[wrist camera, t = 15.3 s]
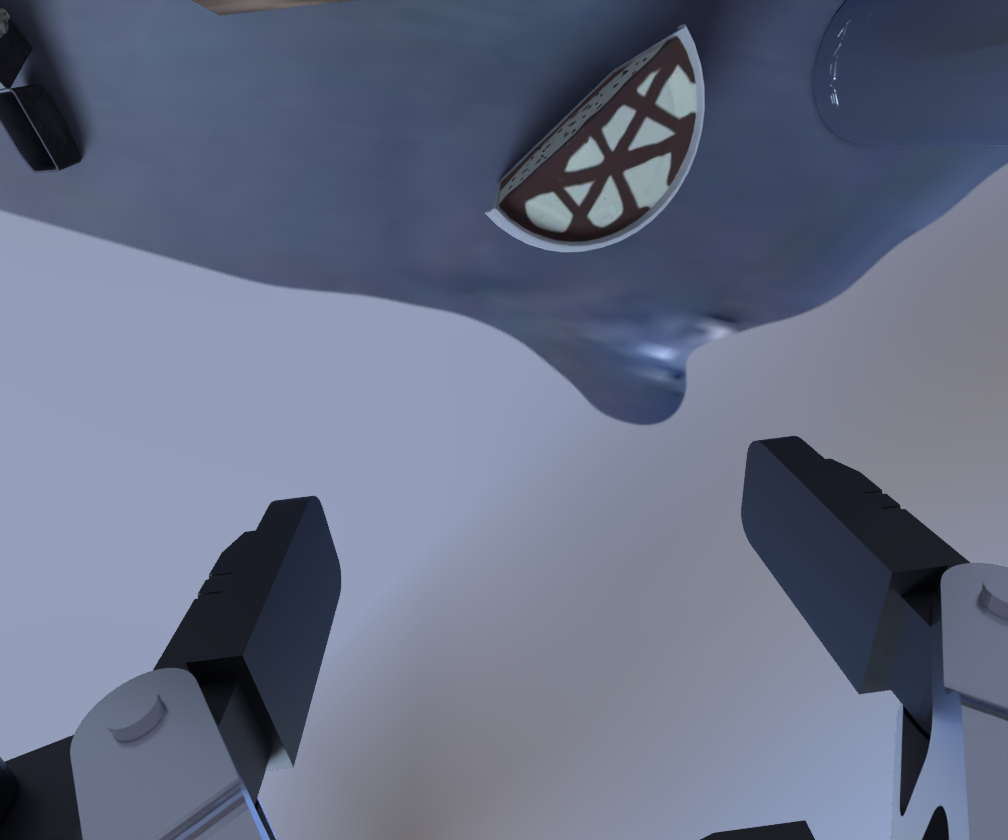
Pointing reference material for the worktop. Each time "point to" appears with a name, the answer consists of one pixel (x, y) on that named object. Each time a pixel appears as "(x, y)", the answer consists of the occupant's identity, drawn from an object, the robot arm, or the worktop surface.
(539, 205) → the food container
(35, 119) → the lighter
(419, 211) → the worktop surface
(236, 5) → the stand
